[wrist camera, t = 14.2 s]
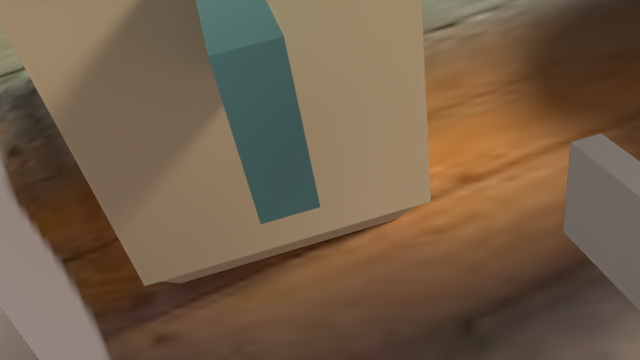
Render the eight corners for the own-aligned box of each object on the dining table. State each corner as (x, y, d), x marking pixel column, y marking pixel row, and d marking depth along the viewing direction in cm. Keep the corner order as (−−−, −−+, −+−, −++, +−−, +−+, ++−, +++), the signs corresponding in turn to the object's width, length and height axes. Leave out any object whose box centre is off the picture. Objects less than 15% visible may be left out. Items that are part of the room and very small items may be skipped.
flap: (424, 191, 36) (522, 345, 27) (144, 273, 34) (145, 469, 25) (404, -173, 23) (579, -120, 14) (-41, -71, 22) (-178, 66, 12)
